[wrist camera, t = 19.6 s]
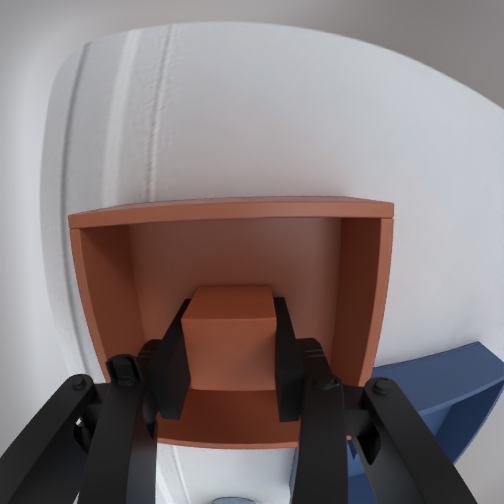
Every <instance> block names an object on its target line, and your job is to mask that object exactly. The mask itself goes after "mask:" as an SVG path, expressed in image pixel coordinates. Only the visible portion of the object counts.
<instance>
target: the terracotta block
mask: <svg viewBox="0 0 504 504" xmlns="http://www.w3.org/2000/svg"><path fill="white" fill-rule="evenodd" d="M181 324H182V331H183V334H184V340H185V347H186V353H187V359H188V364H189V370H190V375H191V383H192V388H193V389H197V390H222V391H256V390H275V354H276V326H277V319H276V313H275V307H274V301H273V296H272V290H271V286H237V287H198V288H197V290H196V292H195V294H194V296H193V297H192V299H191V301H190V303H189V305H188V307H187V309H186V311H185V312H184V314H183V316H182V318H181Z"/></svg>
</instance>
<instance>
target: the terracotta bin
mask: <svg viewBox="0 0 504 504" xmlns="http://www.w3.org/2000/svg"><path fill="white" fill-rule="evenodd" d="M393 217H394V203H390V202H383V201H376V200H369V199H361V198H353V197H331V196H271V197H233V198H210V199H191V200H175V201H162V202H149V203H137V204H127V205H119V206H113V207H108V208H102V209H97V210H92V211H86V212H81V213H76V214H72V215H69V216H68V220H69V228H70V230H69V231H70V240H71V247H72V254H73V260H74V266H75V272H76V278H77V283H78V288H79V292H80V297H81V301H82V306H83V310H84V314H85V318H86V321H87V325H88V329H89V332H90V336H91V339H92V342H93V346H94V349H95V352H96V355H97V358H98V361H99V364H100V367H101V370H102V372H103V375H104V378H105V380H106V383H110V382H111V379H110V376H109V373H108V370H107V367H106V364H105V362H106V361H107V360H108V359H109V358H111V357H112V356H115V355H118V354H131V355H133V356H135V357H136V356H137V355H138V353H139V352H140V350H141V349H142V347H143V345H144V344H145V343H147V342H148V341H150V340H151V339H161V340H162V338H163V337H164V335H165V333H166V331H167V330H168V328H169V326H170V324H171V323H172V321H173V319H174V317H175V316H176V314H177V312H178V310H179V309H180V307H181V305H182V303H183V302H184V300H185V299H192V297H193V296H194V294H195V292H196V290H197V288H198V287H237V286H271V290H272V296H273V297H285V301H286V304H287V308H288V312H289V315H290V319H291V322H292V326H293V330H294V333H295V337H296V339H298V338H315V339H316V340H317V341H318V342H320V344H321V346H322V349H323V351H324V354H325V356H326V359H327V361H328V364H329V366H330V369H331V371H332V374H333V375H335V376H337V377H338V378H339V379H341V382H342V383H343V384H346V385H350V386H361V387H364V385H365V382H367V381H368V380H369V379H370V377H371V373H372V369H373V365H374V361H375V357H376V352H377V347H378V343H379V338H380V333H381V327H382V322H383V316H384V310H385V304H386V297H387V290H388V282H389V274H390V264H391V253H392V240H393V223H394V219H393ZM156 419H157V422H158V437H157V443H163V444H171V445H178V446H187V447H198V448H213V449H277V448H292V447H298V438H299V431H300V424H301V418H300V415H299V421H294V422H279V413H278V404H277V394H276V385H275V390H256V391H222V390H197V389H193V388H192V383H191V382H190V386H189V389H188V392H187V396H186V399H185V403H184V406H183V410H182V413H181V416H180V420H171V419H163V418H161V415H160V412H159V410H158V413H157V415H156ZM350 439H352V438H351V436H347V440H350Z"/></svg>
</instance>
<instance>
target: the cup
mask: <svg viewBox="0 0 504 504" xmlns="http://www.w3.org/2000/svg"><path fill="white" fill-rule="evenodd" d="M213 504H256V503H255V502H253V501H251V500H247V499H243V498H220V499H217V500H215V501H214V502H213Z"/></svg>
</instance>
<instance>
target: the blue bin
mask: <svg viewBox="0 0 504 504" xmlns="http://www.w3.org/2000/svg"><path fill="white" fill-rule="evenodd" d="M374 377H387V378H390V379H392V380H394V381H395V382H396V383H397V384H398V385H399V387H400V388H401V389H402V391H403V392H404V394H405V395H406V396H407V398H408V399H409V401H410V402H411V403H412V405H413V406H414V408H415V409H416V410H417V412H418V413H419V415H420V416H421V418H422V419H423V420H424V422H425V423H426V425H427V426H428V428H429V429H430V431H431V432H432V433H433V435H434V436H435V438H436V439H437V441H438V442H439V444H440V445H441V447H442V448H443V450H444V451H445V453H446V454H447V456H448V457H449V459H450V460H451V462H452V463H453V465H454V464H455V463H456V462H457V461H458V459H459V458H460V456H462V454H463V453H464V452H465V450H466V449H467V448H468V446H469V445H470V443H471V442H472V441H473V439H474V438H475V436H476V435H477V433H478V432H479V430H480V429H481V427H482V426H483V424H484V423H485V421H486V419H487V417H488V416H489V414H490V413H491V411H492V410H493V408H494V406H495V404H496V402H497V401H498V399H499V397H500V395H501V393H502V391H503V389H504V362H503V361H501V360H500V359H499V358H498V357H497V356H496V355H494V354H493V353H492V352H491V351H490V350H488V349H487V348H486V347H485V346H484V345H482V344H481V343H480V342H476V343H473V344H470V345H466V346H463V347H460V348H457V349H453V350H450V351H446V352H443V353H439V354H435V355H431V356H427V357H423V358H419V359H415V360H411V361H406V362H401V363H396V364H391V365H386V366H381V367H375V368H373V369H372V373H371V377H370V379H371V378H374ZM297 449H298V447H295V453H294V459H293V466H292V472H291V477H290V483H289V487H290V496H291V491H292V484H293V478H294V471H295V464H296V456H297ZM347 455H348V504H378V503H377V501H376V498H375V496H374V493H373V491H372V488H371V485H370V483H369V480H368V478H367V475H366V473H365V470H364V468H363V465H362V463H361V460H360V459H359V460H353V457H352V454H351V451H350V448H349V445H348V442H347Z"/></svg>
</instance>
